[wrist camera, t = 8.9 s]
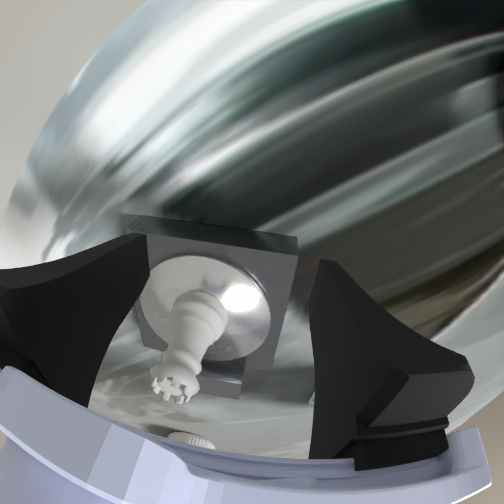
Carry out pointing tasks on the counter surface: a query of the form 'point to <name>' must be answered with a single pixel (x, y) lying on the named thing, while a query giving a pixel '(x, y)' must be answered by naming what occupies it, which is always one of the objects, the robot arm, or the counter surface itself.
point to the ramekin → (191, 439)
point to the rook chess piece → (188, 344)
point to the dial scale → (218, 292)
